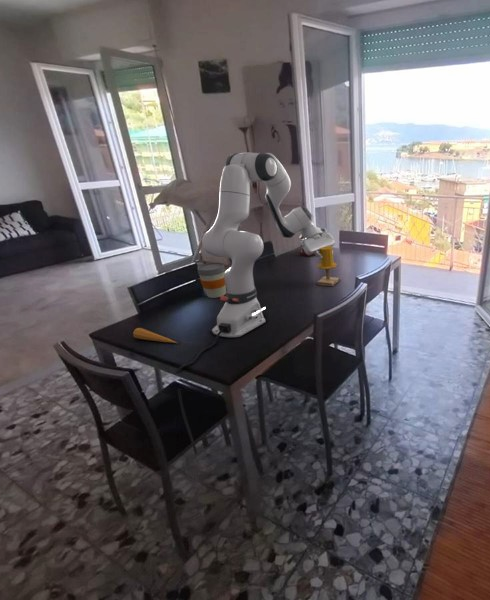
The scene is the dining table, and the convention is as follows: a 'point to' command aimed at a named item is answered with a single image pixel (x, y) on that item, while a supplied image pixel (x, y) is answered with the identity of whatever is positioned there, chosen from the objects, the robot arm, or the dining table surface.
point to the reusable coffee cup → (213, 279)
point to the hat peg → (328, 280)
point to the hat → (326, 258)
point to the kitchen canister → (303, 250)
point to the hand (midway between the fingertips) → (327, 256)
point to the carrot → (150, 336)
